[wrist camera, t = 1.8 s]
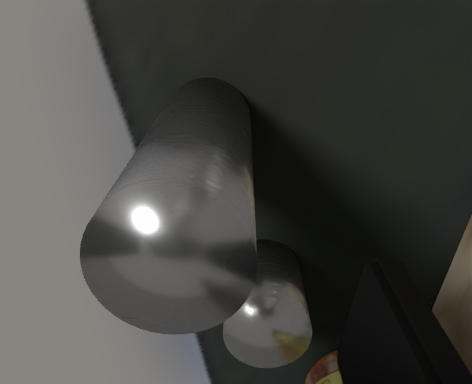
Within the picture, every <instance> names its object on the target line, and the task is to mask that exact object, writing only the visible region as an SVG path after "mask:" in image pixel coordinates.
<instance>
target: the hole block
mask: <svg viewBox="0 0 472 384" xmlns="http://www.w3.org/2000/svg"><path fill="white" fill-rule="evenodd" d="M432 312H433V313H434V315H435V317H436V318H437V320H438V321H439V323H440V325H441V326H442V328H443V329H444V331H445V333H446V334H447V336H448V337H449V339H450V341H451V342H452V344H453V346H454V347H455V349H456V350H457V352H458V354H459V355H460V357H461V358H462V360H463V362H464V363H465V365H466V366H467V368H468V370H469V371H470V373H471V374H472V215H471V218H470V220H469V223H468V225H467V227H466V230H465V232H464V235H463V237H462V239H461V242H460V244H459V246H458V249H457V251H456V254H455V256H454V258H453V261H452V263H451V266H450V268H449V270H448V273H447V275H446V277H445V280H444V282H443V285H442V287H441V289H440V292H439V294H438V297H437V299H436V301H435V304H434V306H433V309H432Z"/></svg>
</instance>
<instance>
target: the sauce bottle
mask: <svg viewBox="0 0 472 384" xmlns="http://www.w3.org/2000/svg"><path fill="white" fill-rule="evenodd" d="M337 353H338V350H335V351H332V352H330V353H328V354H327V355H324V356H323V357H322V358H321V359H320V360H318V361H317V362H316V363H315V364H314V366H313V367H312V368H311V369H310V371H309V373H308V375H307V378H306V380H305V384H343V383H342V379H341V375H340V372H339V368H338V363H337Z"/></svg>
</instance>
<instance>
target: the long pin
mask: <svg viewBox="0 0 472 384" xmlns="http://www.w3.org/2000/svg"><path fill="white" fill-rule="evenodd" d="M80 261H81V268H82V271H83V275H84V278H85V280H86V283H87V285H88V286H89V288H90V290H91V292H92V293H93V294H94V296H95V297H96V298H97V299H98V301H99V302H100V303H101V304H102V305H103V306H104V307H105V308H106V309H107V310H109V311H110V312H111V313H112V314H113V315H115V316H116V317H118V318H120V319H121V320H123V321H125V322H127V323H128V324H131V325H133V326H135V327H138V328H140V329H143V330H147V331H151V332H156V333H162V334H187V333H195V332H199V331H203V330H206V329H209V328H212V327H214V326H216V325H218V324H220V323H222V322H224V321H225V320H227V319H228V318H230V317H231V316H232V315H234V314H235V313H236V312H237V311H238V310H239V309H240V308H241V307H242V306H243V304H244V303H245V302H246V300H247V299H248V297H249V296H250V293H251V291H252V289H253V287H254V283H255V280H256V275H257V249H256V227H255V205H254V183H253V162H252V140H251V118H250V111H249V108H248V105H247V103H246V100H245V99H244V97H243V96H242V94H241V93H240V92H239V91H238V90H237V89H236V88H235V87H233V86H232V85H230V84H229V83H227V82H225V81H222V80H219V79H215V78H199V79H195V80H192V81H189V82H187V83H185V84H184V85H182V86H181V87H180V88H179V89H178V90H177V91H176V92H175V93H174V94H173V96H172V97H171V99H170V100H169V102H168V103H167V105H166V106H165V108H164V109H163V111H162V112H161V114H160V115H159V117H158V118H157V120H156V121H155V123H154V124H153V126H152V128H151V129H150V131H149V132H148V134H147V135H146V137H145V138H144V140H143V141H142V143H141V144H140V146H139V147H138V149H137V150H136V152H135V153H134V155H133V156H132V158H131V159H130V161H129V162H128V164H127V165H126V167H125V168H124V170H123V172H122V173H121V175H120V176H119V178H118V179H117V181H116V182H115V184H114V185H113V187H112V188H111V190H110V191H109V193H108V194H107V196H106V197H105V199H104V200H103V202H102V203H101V205H100V206H99V208H98V209H97V211H96V212H95V214H94V215H93V217H92V218H91V220H90V222H89V223H88V225H87V227H86V229H85V232H84V234H83V238H82V241H81V247H80Z"/></svg>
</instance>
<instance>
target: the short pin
mask: <svg viewBox="0 0 472 384" xmlns="http://www.w3.org/2000/svg"><path fill="white" fill-rule="evenodd" d="M256 249H257V275H256V280H255V283H254V287H253V289H252V291H251V293H250V296H249V297H248V299H247V300H246V302H245V303H244V304H243V306H242V307H241V308H240V309H239V310H238V311H237V312H236V313H235V314H234V315H232V316H231V317H230V318H228V319H227V320H225V321H224V325H223V339H224V343H225V345H226V347H227V349H228V350H229V352H230V353H231V354H232V355H233V356H234V357H235V358H237V359H238V360H240V361H241V362H243V363H245V364H248V365H251V366H254V367H260V368H274V367H279V366H283V365H286V364H289V363H291V362H293V361H295V360H296V359H298V358H299V357H300V356H301V355H302V354H303V353H304V352H305V351H306V350H307V348H308V346H309V345H310V342H311V339H312V326H311V321H310V316H309V311H308V306H307V302H306V297H305V292H304V287H303V282H302V277H301V272H300V267H299V263H298V260H297V258H296V256H295V254H294V253H293V252H292V251H291V250H290V249H289V248H288V247H287V246H285V245H284V244H282V243H279V242H277V241H273V240H266V239H262V240H256Z"/></svg>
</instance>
